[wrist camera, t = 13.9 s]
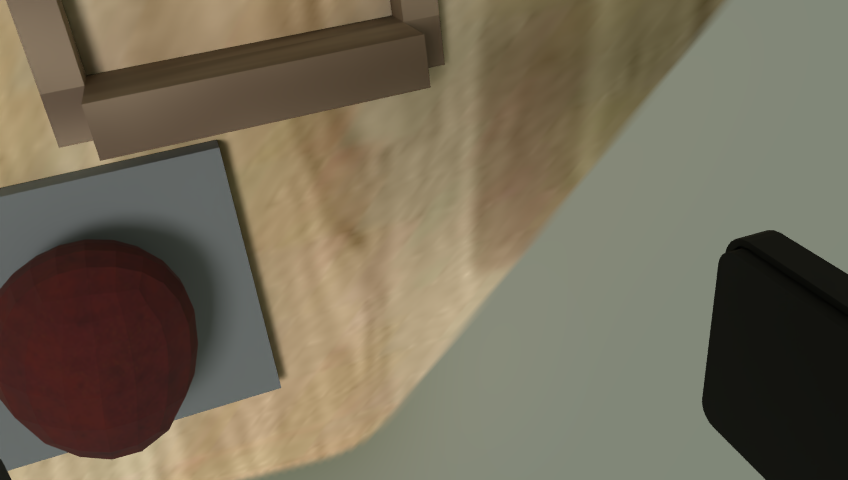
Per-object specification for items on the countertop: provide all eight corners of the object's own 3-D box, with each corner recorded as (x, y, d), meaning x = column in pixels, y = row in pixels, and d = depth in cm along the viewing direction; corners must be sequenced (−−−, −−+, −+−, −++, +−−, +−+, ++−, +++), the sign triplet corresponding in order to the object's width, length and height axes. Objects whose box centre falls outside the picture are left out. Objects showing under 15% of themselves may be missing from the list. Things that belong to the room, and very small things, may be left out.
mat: (-110, 212, 29) (-116, 223, 28) (216, 139, 32) (219, 147, 31) (9, 455, 35) (6, 471, 34) (277, 375, 38) (281, 387, 37)
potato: (208, 226, 32) (225, 295, 27) (173, 408, 35) (182, 502, 30) (3, 201, 29) (-23, 274, 24) (-17, 402, 32) (-42, 505, 27)
